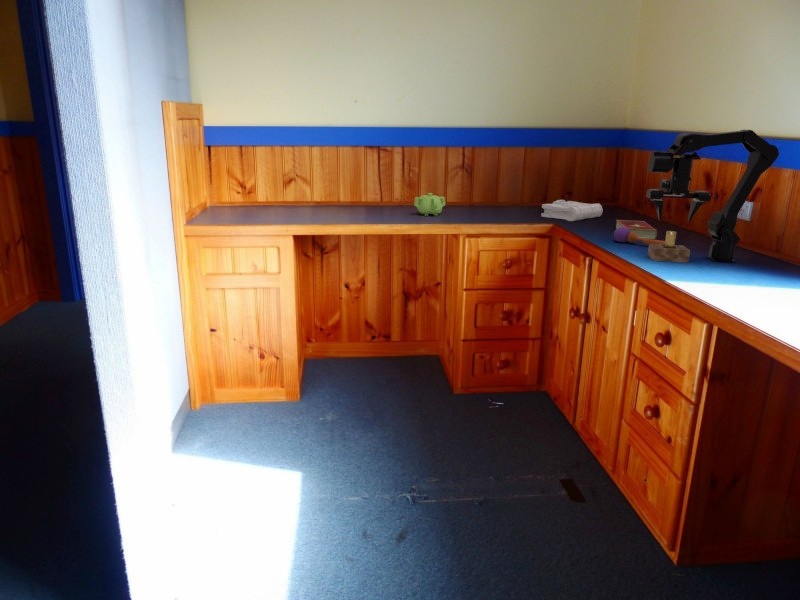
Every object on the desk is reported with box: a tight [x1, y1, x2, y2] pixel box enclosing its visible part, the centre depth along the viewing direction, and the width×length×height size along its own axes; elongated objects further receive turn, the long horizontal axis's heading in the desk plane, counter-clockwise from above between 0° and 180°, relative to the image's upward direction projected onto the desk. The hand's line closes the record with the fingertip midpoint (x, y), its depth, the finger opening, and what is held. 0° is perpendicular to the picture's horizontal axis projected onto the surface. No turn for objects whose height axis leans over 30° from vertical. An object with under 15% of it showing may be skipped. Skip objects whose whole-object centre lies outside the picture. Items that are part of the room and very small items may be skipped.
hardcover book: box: [615, 219, 658, 240], centre depth 251 cm, size 12×21×4 cm, turn 171°
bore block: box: [647, 244, 691, 263], centre depth 207 cm, size 11×8×4 cm
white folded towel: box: [540, 199, 604, 222], centre depth 289 cm, size 19×28×8 cm
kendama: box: [613, 227, 665, 245], centre depth 228 cm, size 6×6×20 cm
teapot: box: [413, 192, 446, 217], centre depth 282 cm, size 12×12×10 cm
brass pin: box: [664, 230, 677, 248], centre depth 206 cm, size 3×3×8 cm
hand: (674, 221), depth 205 cm, fingers open, 9 cm apart
